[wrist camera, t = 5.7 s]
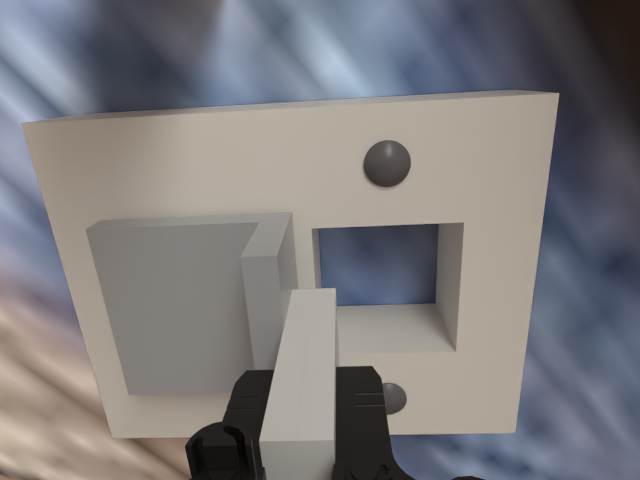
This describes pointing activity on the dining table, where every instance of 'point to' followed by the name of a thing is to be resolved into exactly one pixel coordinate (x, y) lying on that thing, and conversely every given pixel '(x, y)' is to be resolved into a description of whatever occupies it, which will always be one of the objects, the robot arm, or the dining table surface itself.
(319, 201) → the socket plate
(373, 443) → the robot arm
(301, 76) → the dining table surface
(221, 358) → the shutter
